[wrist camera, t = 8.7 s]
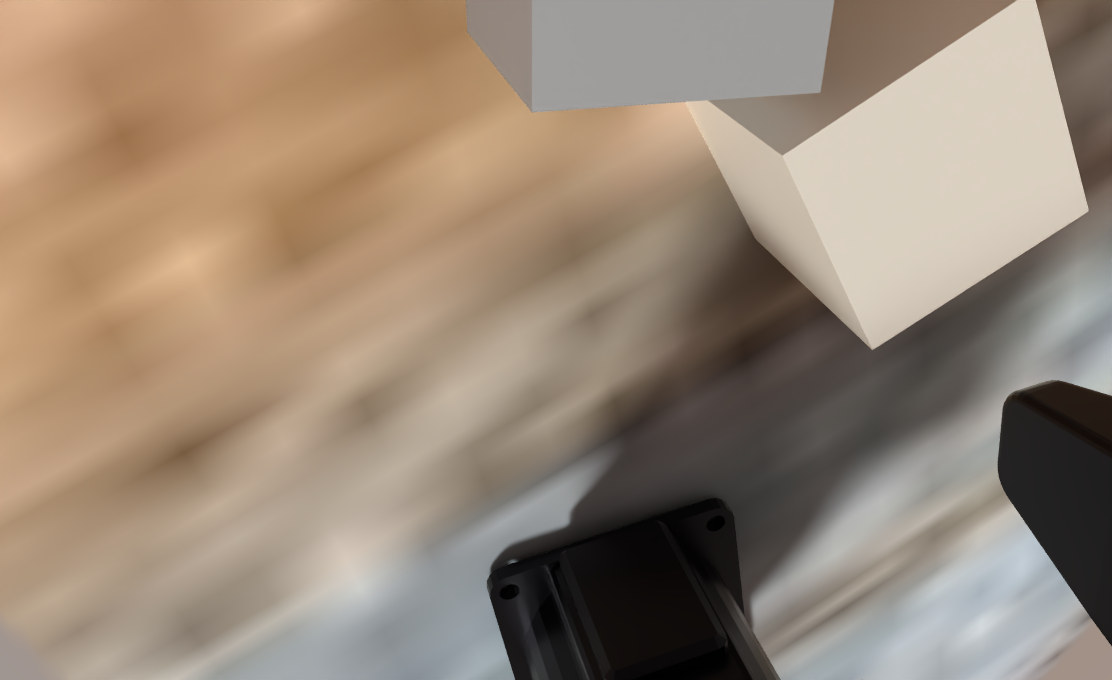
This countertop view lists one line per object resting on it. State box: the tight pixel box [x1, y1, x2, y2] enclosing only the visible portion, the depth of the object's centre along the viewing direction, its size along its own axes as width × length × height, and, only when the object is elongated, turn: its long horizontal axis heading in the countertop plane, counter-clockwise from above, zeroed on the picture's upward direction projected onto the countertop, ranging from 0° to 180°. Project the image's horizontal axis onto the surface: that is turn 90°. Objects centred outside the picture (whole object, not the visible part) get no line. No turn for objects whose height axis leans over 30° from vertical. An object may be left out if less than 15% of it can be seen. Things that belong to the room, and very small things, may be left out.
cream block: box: [685, 0, 1089, 350], centre depth 18 cm, size 4×4×5 cm
